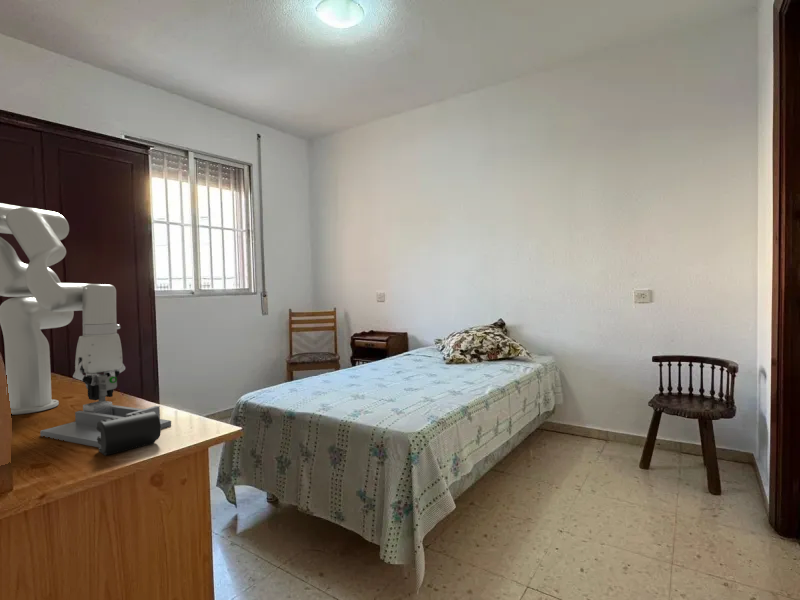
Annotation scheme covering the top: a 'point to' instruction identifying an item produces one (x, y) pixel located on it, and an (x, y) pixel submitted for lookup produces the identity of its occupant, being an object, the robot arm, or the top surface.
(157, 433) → the end cap
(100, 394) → the mechanical component
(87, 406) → the grey matte cube
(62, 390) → the top surface
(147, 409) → the grey railed base plate
